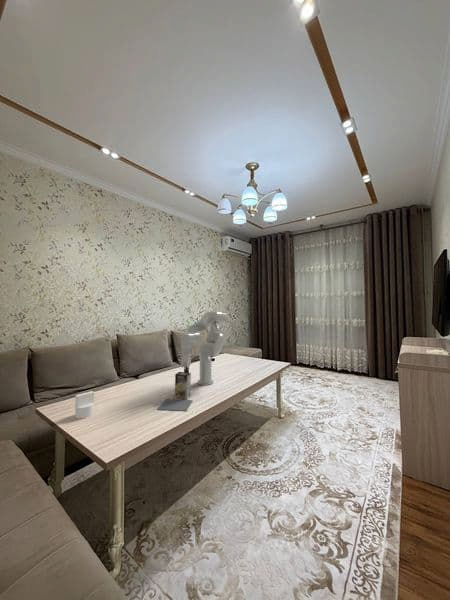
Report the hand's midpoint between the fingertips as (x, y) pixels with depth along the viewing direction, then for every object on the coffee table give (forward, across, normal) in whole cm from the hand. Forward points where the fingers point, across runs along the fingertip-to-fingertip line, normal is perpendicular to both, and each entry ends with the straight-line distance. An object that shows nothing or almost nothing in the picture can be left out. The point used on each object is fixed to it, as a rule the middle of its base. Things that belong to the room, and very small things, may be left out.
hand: (186, 376), depth 176 cm
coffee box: (+11, +10, 0) cm, 15 cm away
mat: (+11, +23, -1) cm, 25 cm away
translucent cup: (+12, +42, -48) cm, 65 cm away
